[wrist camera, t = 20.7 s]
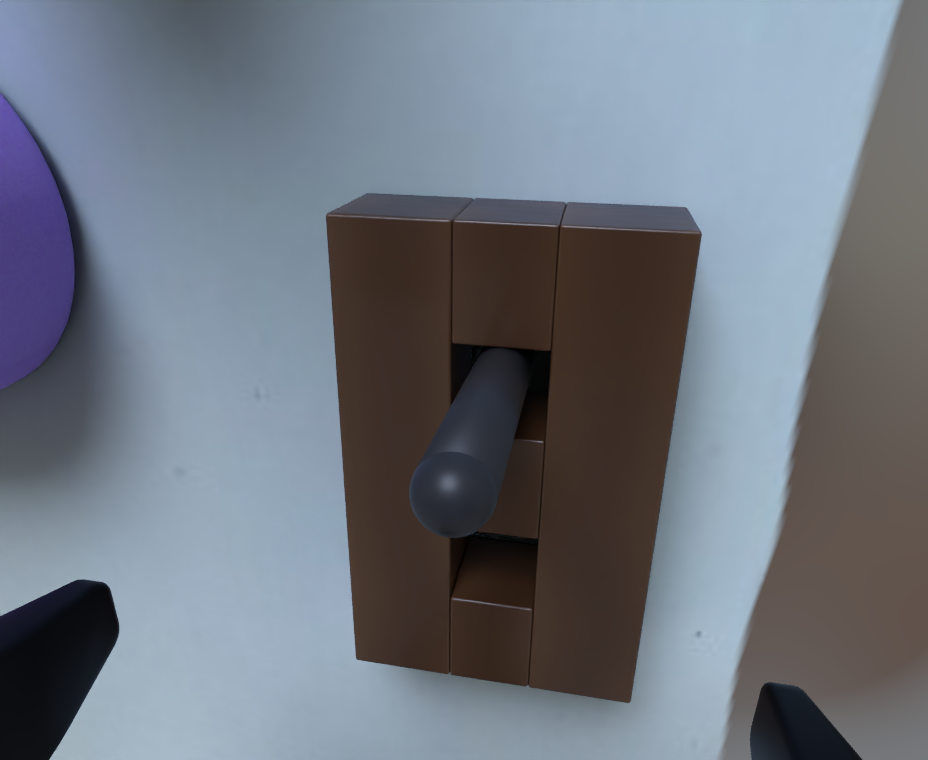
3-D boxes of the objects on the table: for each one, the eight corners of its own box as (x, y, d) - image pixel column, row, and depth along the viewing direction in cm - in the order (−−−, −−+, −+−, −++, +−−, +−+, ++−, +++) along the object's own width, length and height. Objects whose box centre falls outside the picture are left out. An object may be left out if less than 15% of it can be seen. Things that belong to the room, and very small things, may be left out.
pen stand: (382, 595, 24) (355, 660, 22) (364, 192, 19) (324, 213, 16) (627, 630, 23) (630, 704, 20) (687, 207, 17) (702, 231, 15)
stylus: (513, 377, 20) (448, 572, 11) (479, 344, 20) (380, 510, 10) (548, 344, 20) (512, 517, 10) (513, 310, 19) (442, 452, 10)
